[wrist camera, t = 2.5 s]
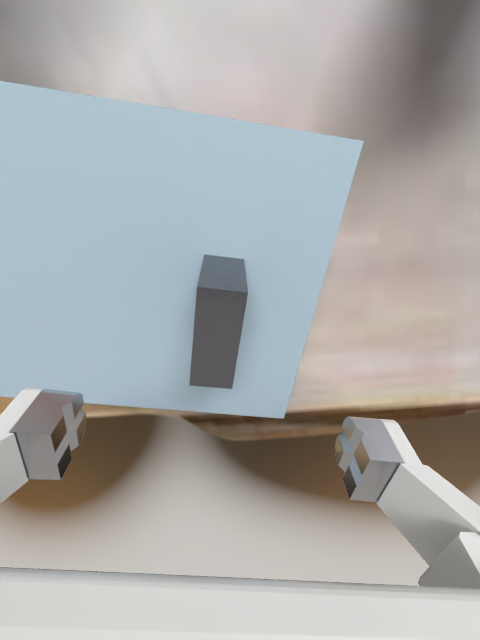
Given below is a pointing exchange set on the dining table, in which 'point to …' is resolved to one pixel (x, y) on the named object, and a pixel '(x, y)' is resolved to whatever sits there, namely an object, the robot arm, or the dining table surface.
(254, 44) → the dining table surface
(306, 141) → the lid
